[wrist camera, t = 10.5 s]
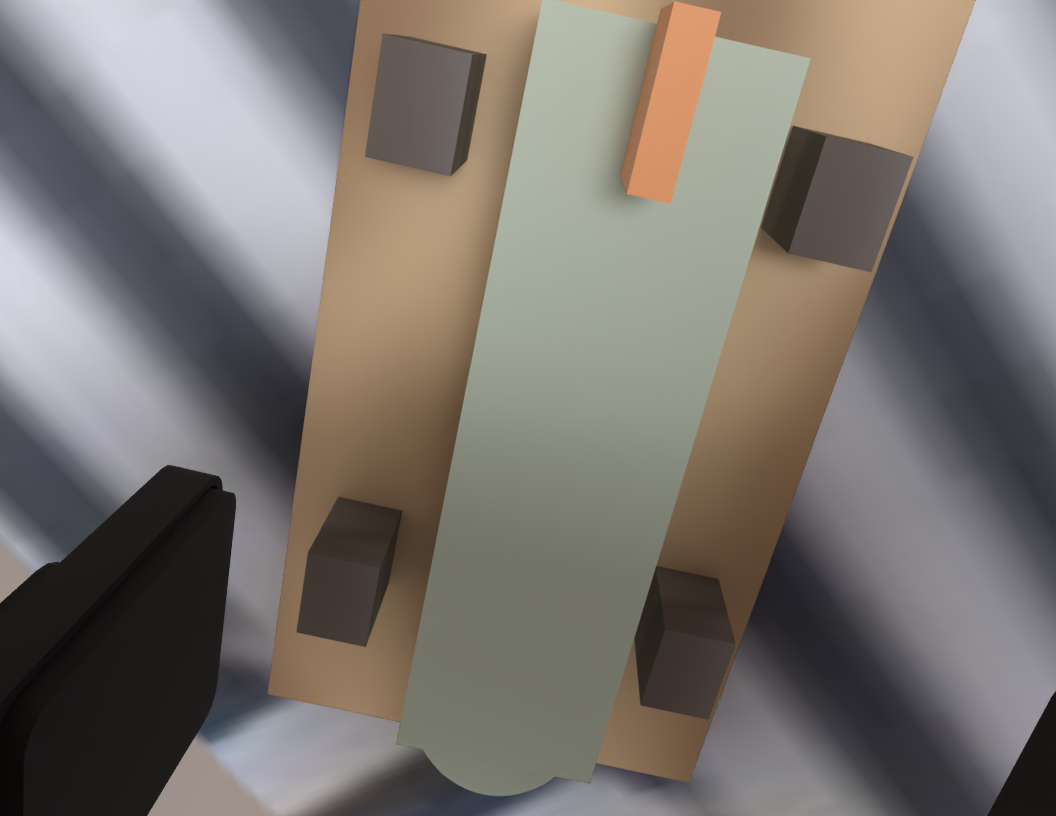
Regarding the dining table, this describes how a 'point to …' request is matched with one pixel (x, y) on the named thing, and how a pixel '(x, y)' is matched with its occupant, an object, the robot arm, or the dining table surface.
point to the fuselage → (588, 379)
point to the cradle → (454, 312)
